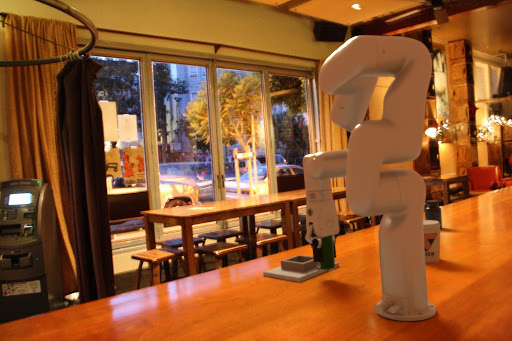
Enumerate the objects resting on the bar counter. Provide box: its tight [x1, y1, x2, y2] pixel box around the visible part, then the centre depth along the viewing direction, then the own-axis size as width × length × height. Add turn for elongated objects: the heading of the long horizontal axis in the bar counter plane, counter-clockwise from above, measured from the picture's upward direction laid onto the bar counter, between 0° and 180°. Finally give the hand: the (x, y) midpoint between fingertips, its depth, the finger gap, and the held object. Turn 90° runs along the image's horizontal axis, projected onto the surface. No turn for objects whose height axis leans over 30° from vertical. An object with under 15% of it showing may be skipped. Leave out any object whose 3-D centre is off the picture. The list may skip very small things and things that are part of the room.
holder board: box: [262, 254, 340, 283], centre depth 141 cm, size 20×14×4 cm
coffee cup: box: [423, 219, 441, 264], centre depth 143 cm, size 9×9×12 cm
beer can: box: [315, 235, 336, 273], centre depth 129 cm, size 5×5×12 cm
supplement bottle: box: [424, 199, 443, 230], centre depth 196 cm, size 7×7×12 cm
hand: (325, 259), depth 129 cm, fingers closed on beer can, 5 cm apart
